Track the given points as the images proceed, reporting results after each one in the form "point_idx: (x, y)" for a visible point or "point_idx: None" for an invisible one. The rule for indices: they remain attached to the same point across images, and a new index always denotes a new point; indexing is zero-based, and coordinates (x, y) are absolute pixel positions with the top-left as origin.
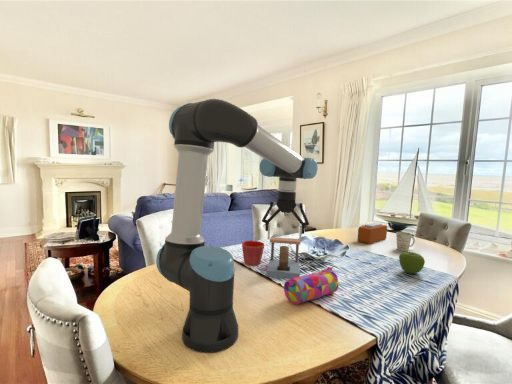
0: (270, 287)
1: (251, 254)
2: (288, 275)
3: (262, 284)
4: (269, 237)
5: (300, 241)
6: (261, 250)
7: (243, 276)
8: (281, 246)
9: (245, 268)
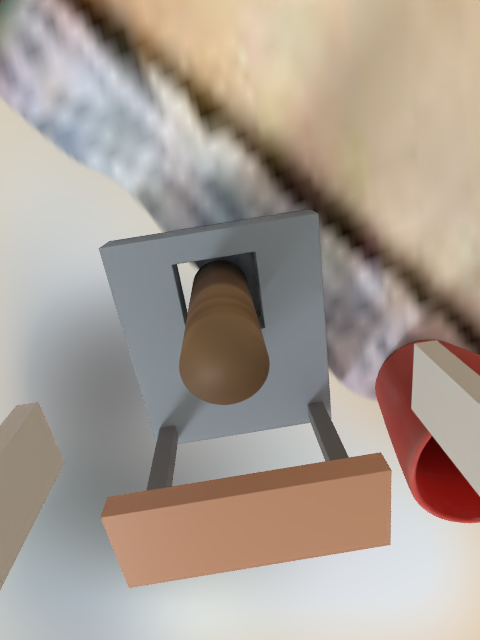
0: (250, 30)
1: (464, 361)
2: (174, 233)
3: (310, 63)
4: (421, 374)
5: (21, 405)
6: (409, 416)
7: (446, 154)
8: (256, 380)
9: (448, 286)
